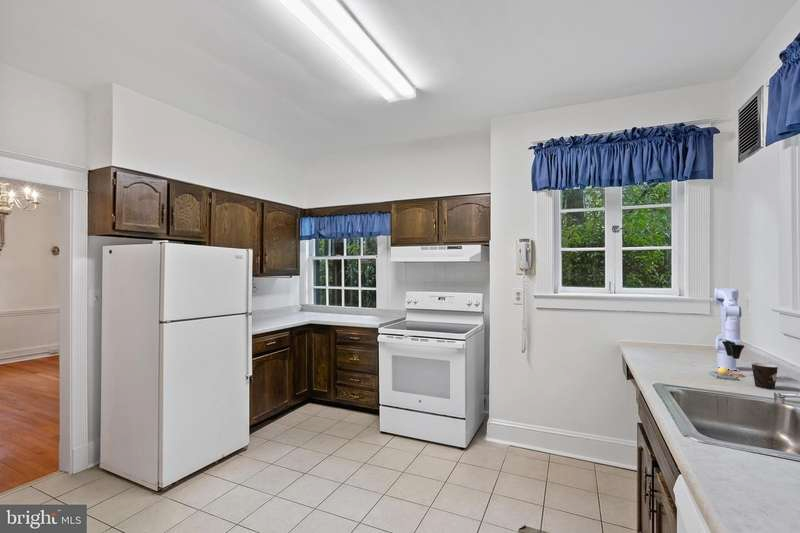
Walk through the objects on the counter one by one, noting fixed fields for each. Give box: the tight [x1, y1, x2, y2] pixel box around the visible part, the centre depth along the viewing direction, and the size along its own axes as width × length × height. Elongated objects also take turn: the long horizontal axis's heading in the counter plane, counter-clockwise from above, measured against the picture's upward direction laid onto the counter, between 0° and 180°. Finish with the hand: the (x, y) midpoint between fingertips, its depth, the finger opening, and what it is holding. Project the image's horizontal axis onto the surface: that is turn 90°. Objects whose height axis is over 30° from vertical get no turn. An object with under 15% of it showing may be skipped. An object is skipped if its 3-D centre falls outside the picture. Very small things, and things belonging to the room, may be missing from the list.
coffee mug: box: [751, 362, 779, 390], centre depth 172 cm, size 12×9×10 cm
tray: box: [709, 370, 739, 381], centre depth 189 cm, size 10×8×2 cm
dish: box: [729, 370, 744, 378], centre depth 194 cm, size 8×8×1 cm
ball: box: [717, 367, 730, 376], centre depth 189 cm, size 4×4×4 cm
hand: (733, 357), depth 190 cm, fingers open, 7 cm apart
